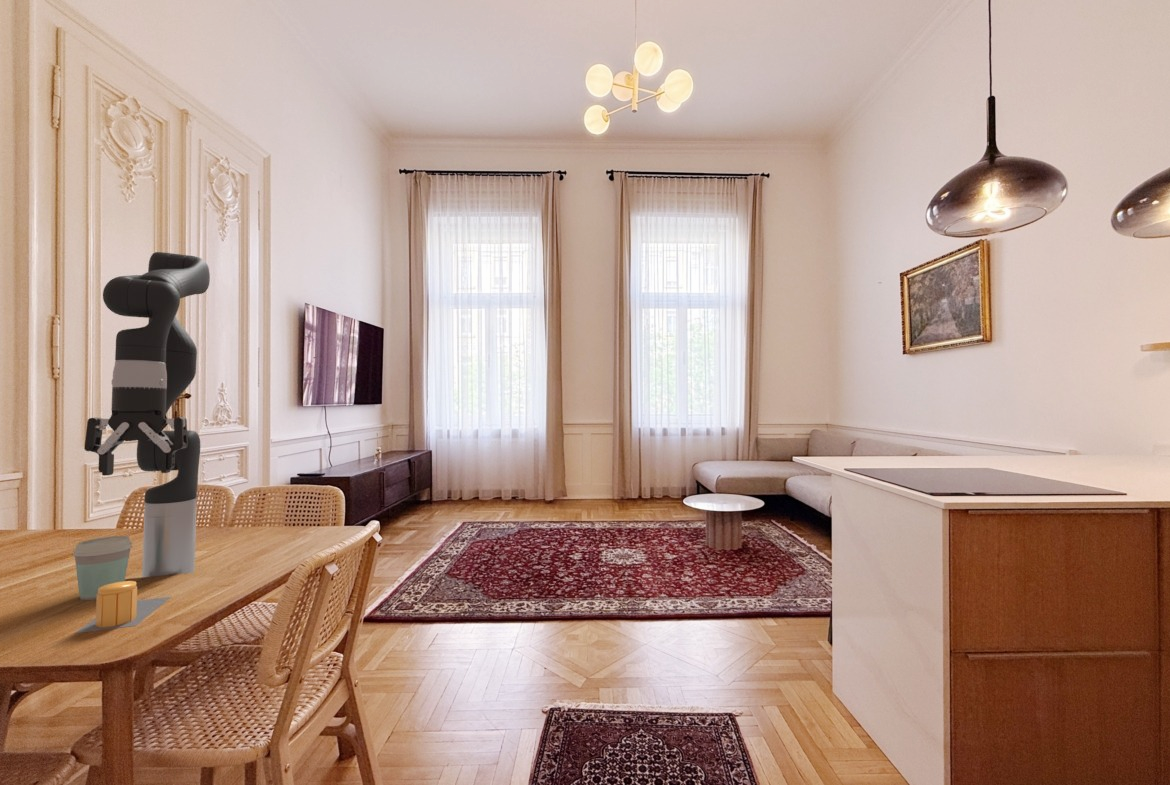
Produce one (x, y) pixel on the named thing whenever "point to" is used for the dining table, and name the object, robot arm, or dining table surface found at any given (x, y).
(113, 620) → the wire nut
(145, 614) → the board
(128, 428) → the robot arm
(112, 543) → the coffee cup
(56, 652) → the dining table surface
